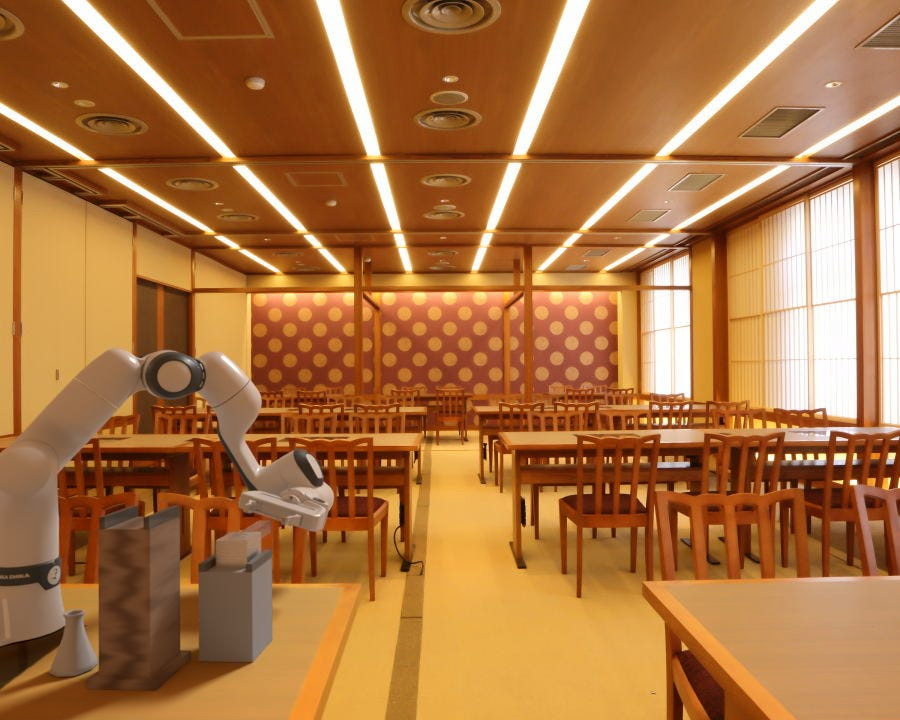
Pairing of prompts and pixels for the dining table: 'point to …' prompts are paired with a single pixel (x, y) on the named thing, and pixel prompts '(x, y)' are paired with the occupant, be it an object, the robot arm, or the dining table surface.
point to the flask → (74, 648)
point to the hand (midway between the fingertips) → (265, 514)
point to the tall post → (139, 600)
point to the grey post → (235, 609)
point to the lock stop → (241, 545)
